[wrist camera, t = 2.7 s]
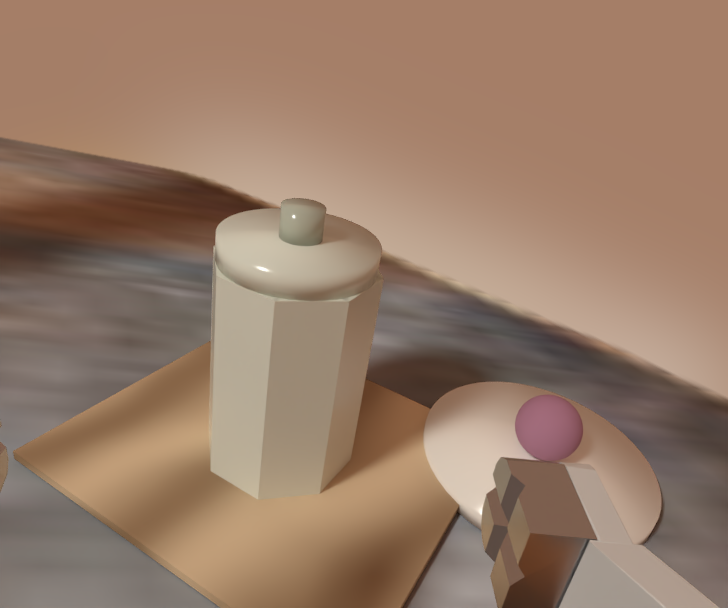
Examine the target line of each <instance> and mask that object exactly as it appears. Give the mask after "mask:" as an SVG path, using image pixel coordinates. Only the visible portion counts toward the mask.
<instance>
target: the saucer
mask: <svg viewBox="0 0 728 608" xmlns="http://www.w3.org/2000/svg"><path fill="white" fill-rule="evenodd" d="M539 395H555V396H558V397H561V398H563V399H565V400H567V401H568V402H569V403H571V404H572V405H573V406H574V407H575V409H576V410H577V411H578V413H579V415H580V417H581V420H582V424H583V436H582V440H581V443H580V445H579V446H578V448H577V449H576V450H575V452H573V453H572V454H571V455H570V456H568V457H566V458H564V459H561V460H557V461H550V462H557V463H559V462H567V463H579V464H589V465H591V466H592V467H593V468H594V469H595V470H596V472H597V474H598V476H599V478H600V480H601V482H602V484H603V486H604V488H605V490H606V492H607V494H608V496H609V498H610V500H611V502H612V504H613V506H614V507H615V509H616V511H617V513H618V515H619V517H620V519H621V521H622V523H623V525H624V527H625V529H626V531H627V533H628V535H629V537H630V539H631V541H632V543H633V544H636V545H643V544H644V543H645V541H646V540H647V539H648V537H649V535H650V533H651V532H652V530H653V528H654V526H655V524H656V522H657V521H658V519H659V515H660V511H661V492H660V487H659V484H658V481H657V478H656V476H655V474H654V472H653V470H652V468H651V466H650V464H649V463H648V461H647V460H646V459H645V457H644V456H643V454H642V453H641V452H640V451H639V449H638V448H637V447H636V446H635V445H634V444H633V443H632V442H631V441H630V440H629V439H628V438H627V437H626V436H625V435H624V434H623V433H622V432H621V431H619V430H618V429H617V428H616V427H615V426H613V425H612V424H611V423H609V422H608V421H607V420H605V419H604V418H602V417H601V416H599V415H598V414H596V413H595V412H593V411H591V410H590V409H588V408H586V407H584V406H582V405H580V404H578V403H577V402H574V401H572V400H570V399H568V398H566V397H563V396H561V395H558V394H555V393H553V392H550V391H546V390H543V389H540V388H536V387H532V386H528V385H523V384H517V383H508V382H480V383H473V384H468V385H464V386H461V387H458V388H456V389H454V390H451V391H449V392H448V393H446V394H445V395H443V396H442V397H440V398H439V399H438V400H437V401H436V402H435V403H434V405H433V406H432V408H431V409H430V411H429V413H428V416H427V419H426V422H425V426H424V433H423V443H424V449H425V454H426V457H427V460H428V462H429V465H430V467H431V469H432V471H433V473H434V474H435V476H436V478H437V479H438V481H439V482H440V483H441V485H442V486H443V487H444V489H445V490H446V491H447V493H448V494H449V495H450V496H451V497H452V498H453V499H454V500H455V501H456V502H457V503H458V504H459V508H458V511H457V512H458V513H460V514H461V515H462V516H463V517H464V518H465V519H466V520H467V521H469V522H470V523H471V524H473V525H474V526H476V527H477V528H478V529H480V530H481V520H482V508H483V505H484V501H485V497H486V494H487V493H488V492H490V491H491V490H493V489H494V488H495V487H496V485H495V481H494V478H493V472H494V469H495V466H496V463H497V462H498V460H499V459H500V458H501V457H507V458H518V459H528V460H539V461H545V460H541V459H538V458H536V457H534V456H532V455H531V454H529V453H528V452H527V451H526V450H525V449H524V448H523V447H522V446H521V444H520V442H519V441H518V438H517V436H516V432H515V420H516V416H517V413H518V411H519V409H520V408H521V407H522V405H523V404H524V403H525V402H527V401H528V400H529V399H531V398H533V397H536V396H539ZM481 531H482V530H481Z"/></svg>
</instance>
